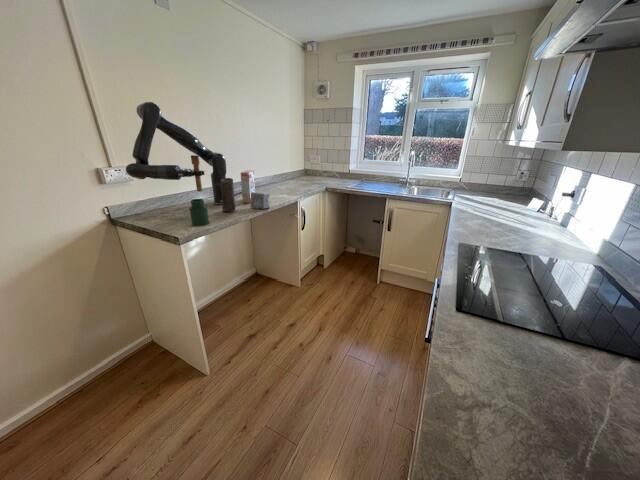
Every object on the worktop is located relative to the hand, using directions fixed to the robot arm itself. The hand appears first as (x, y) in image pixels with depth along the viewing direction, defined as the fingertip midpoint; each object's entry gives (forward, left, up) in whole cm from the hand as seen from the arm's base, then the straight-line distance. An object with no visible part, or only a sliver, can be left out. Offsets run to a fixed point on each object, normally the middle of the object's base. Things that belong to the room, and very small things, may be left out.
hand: (202, 173), depth 136 cm
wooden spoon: (+1, -3, -9) cm, 10 cm away
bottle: (+8, +3, -25) cm, 26 cm away
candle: (-17, 0, -25) cm, 30 cm away
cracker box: (-45, -7, -25) cm, 52 cm away
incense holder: (-33, +11, -25) cm, 43 cm away
